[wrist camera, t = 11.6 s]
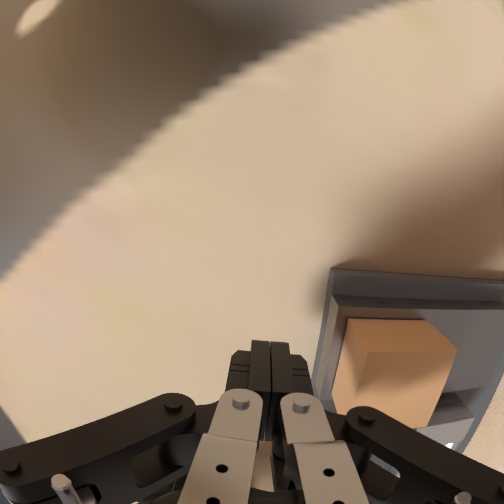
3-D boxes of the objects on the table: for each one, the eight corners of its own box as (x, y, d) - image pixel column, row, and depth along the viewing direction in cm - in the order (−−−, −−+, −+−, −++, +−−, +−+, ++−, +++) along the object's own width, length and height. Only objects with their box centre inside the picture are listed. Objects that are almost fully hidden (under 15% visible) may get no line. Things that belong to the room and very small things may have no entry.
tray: (330, 268, 15) (334, 273, 14) (522, 281, 15) (531, 285, 14) (266, 547, 22) (266, 554, 21) (392, 535, 21) (394, 541, 20)
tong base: (331, 294, 15) (349, 324, 11) (500, 300, 14) (535, 321, 11) (268, 548, 20) (268, 574, 17) (375, 539, 20) (381, 563, 17)
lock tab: (347, 318, 13) (368, 352, 10) (426, 320, 13) (457, 349, 10) (331, 393, 14) (343, 434, 11) (404, 390, 14) (426, 426, 11)
